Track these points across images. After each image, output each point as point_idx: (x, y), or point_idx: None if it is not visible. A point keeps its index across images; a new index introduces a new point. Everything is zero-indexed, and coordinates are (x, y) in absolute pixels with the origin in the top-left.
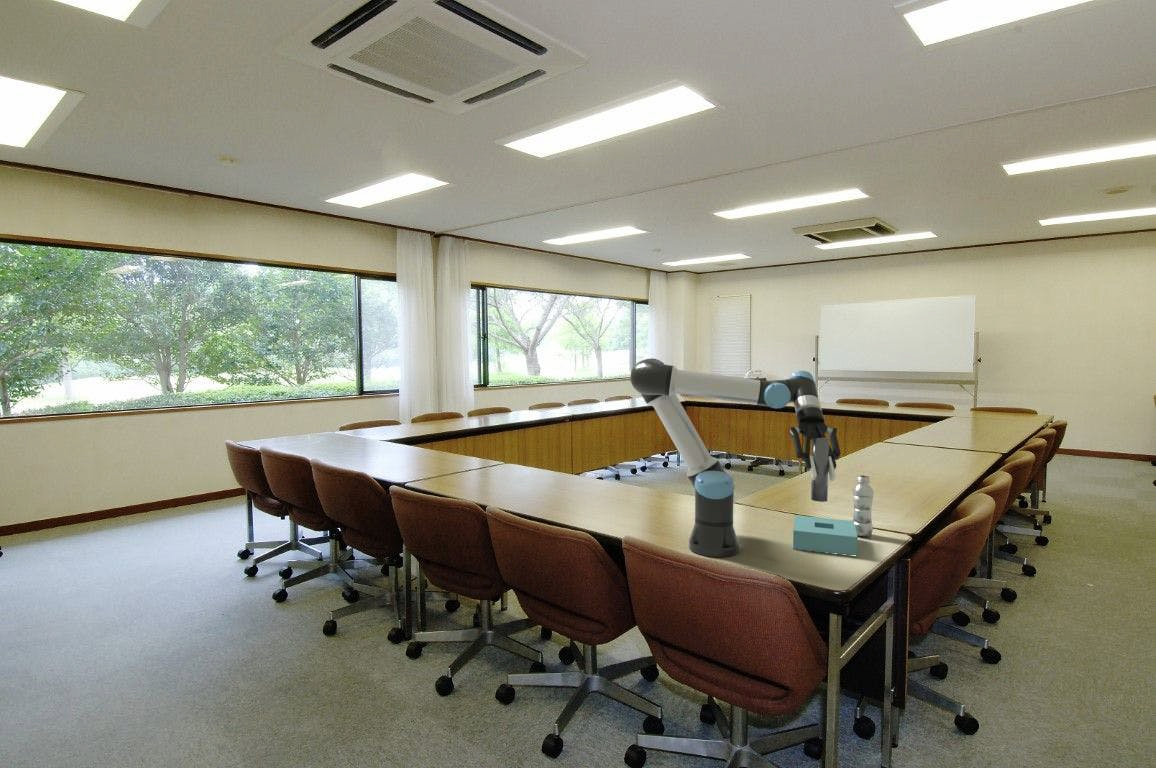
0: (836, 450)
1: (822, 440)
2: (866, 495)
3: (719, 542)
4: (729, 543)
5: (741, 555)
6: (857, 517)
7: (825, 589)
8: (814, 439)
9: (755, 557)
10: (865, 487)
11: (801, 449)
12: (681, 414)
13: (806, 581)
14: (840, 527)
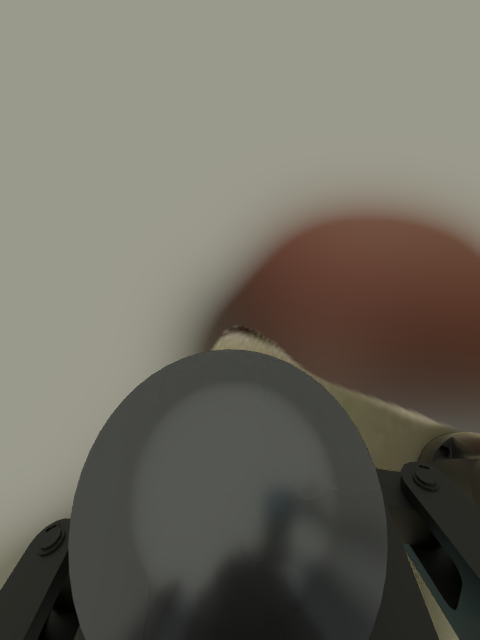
0: (43, 579)
1: (223, 354)
2: None
3: (467, 439)
4: (446, 458)
5: (403, 465)
6: None
7: (250, 330)
8: (335, 409)
9: (372, 459)
10: None
11: (438, 515)
12: None
13: (275, 353)
14: None
